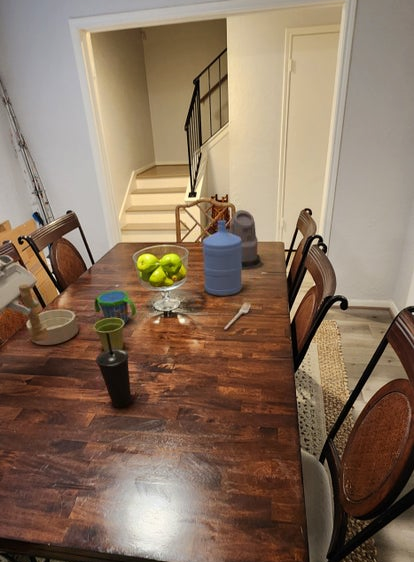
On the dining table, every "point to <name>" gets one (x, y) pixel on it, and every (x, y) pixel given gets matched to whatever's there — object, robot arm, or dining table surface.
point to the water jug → (222, 262)
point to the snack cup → (115, 305)
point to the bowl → (57, 326)
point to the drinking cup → (115, 374)
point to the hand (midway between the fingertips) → (33, 309)
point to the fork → (239, 314)
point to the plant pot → (110, 332)
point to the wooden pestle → (33, 316)
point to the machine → (246, 238)
